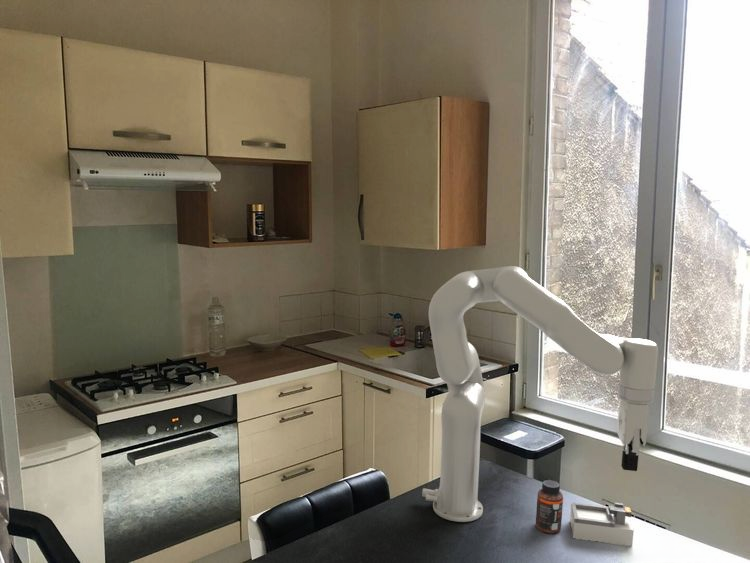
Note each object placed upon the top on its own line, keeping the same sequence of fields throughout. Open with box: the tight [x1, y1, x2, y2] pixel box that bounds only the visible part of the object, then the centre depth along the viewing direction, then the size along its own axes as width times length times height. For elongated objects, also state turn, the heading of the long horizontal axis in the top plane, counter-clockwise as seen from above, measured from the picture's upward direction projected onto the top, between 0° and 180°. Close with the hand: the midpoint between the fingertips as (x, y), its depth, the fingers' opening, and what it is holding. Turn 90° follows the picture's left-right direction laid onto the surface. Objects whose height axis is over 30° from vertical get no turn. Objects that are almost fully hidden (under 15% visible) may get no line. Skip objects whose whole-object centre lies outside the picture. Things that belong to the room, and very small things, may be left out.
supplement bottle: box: [535, 479, 564, 534], centre depth 148 cm, size 6×6×11 cm
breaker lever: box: [607, 505, 633, 518], centre depth 145 cm, size 5×2×1 cm, turn 78°
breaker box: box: [569, 502, 635, 547], centre depth 146 cm, size 13×8×7 cm, turn 78°
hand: (629, 468), depth 143 cm, fingers closed
